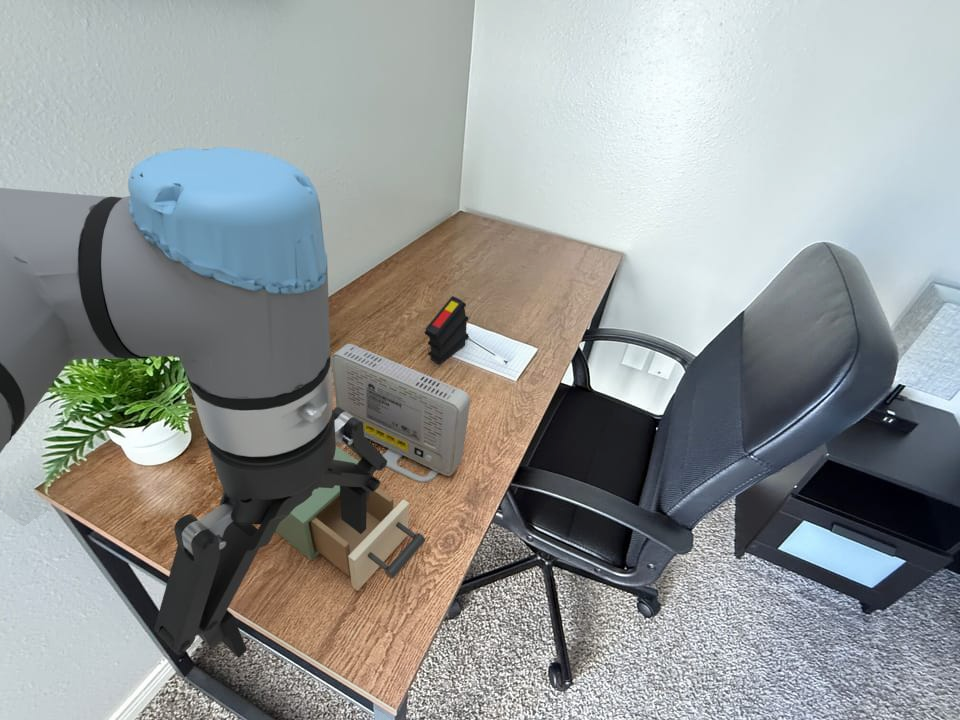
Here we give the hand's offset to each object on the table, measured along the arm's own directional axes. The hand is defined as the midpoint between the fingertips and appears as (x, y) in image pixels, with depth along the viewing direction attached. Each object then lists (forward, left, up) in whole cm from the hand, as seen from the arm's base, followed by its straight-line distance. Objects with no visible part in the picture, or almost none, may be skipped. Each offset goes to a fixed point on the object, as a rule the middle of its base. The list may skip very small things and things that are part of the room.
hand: (299, 577), depth 43 cm
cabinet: (+5, +26, -28) cm, 39 cm away
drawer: (+11, +15, -27) cm, 33 cm away
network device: (+23, +31, -28) cm, 48 cm away
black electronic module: (+46, +54, -28) cm, 77 cm away
